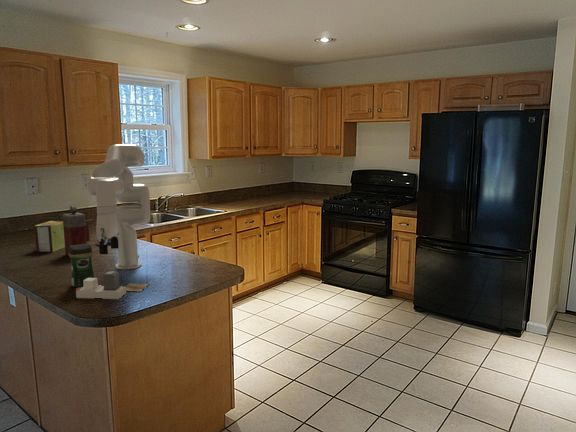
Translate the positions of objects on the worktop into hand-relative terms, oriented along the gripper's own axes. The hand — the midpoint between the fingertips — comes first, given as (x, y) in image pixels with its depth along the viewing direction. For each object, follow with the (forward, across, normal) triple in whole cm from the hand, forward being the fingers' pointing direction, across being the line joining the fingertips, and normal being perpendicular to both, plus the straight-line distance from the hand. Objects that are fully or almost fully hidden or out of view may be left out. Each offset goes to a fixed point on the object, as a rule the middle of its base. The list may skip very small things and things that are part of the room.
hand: (109, 251), depth 180 cm
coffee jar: (+19, -14, -20) cm, 31 cm away
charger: (+16, 0, 0) cm, 16 cm away
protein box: (+19, -75, -72) cm, 106 cm away
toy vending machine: (+19, -64, -50) cm, 83 cm away
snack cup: (+18, -94, -47) cm, 107 cm away
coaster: (+19, -10, +5) cm, 22 cm away
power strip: (+19, 0, -5) cm, 20 cm away
